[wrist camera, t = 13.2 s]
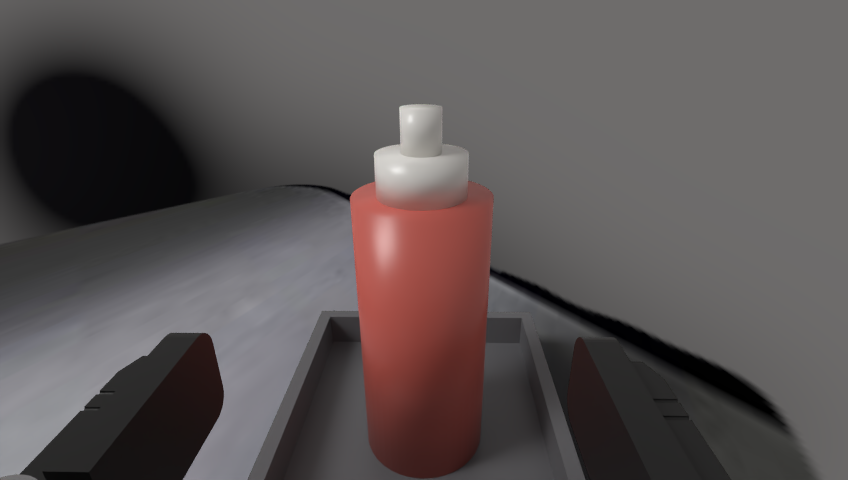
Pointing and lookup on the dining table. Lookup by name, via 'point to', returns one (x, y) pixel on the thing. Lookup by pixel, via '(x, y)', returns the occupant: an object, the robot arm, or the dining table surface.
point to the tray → (347, 418)
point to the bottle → (422, 298)
